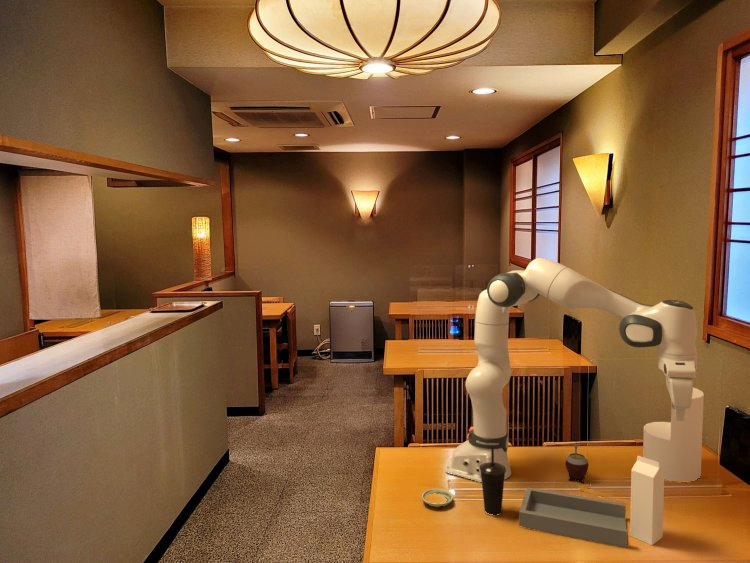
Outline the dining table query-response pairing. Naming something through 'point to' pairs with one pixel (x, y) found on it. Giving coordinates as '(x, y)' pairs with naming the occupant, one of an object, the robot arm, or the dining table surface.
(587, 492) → the dining table surface
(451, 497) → the saucer
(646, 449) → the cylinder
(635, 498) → the milk
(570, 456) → the mate gourd
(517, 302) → the robot arm
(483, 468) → the drinking cup
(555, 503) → the trough
